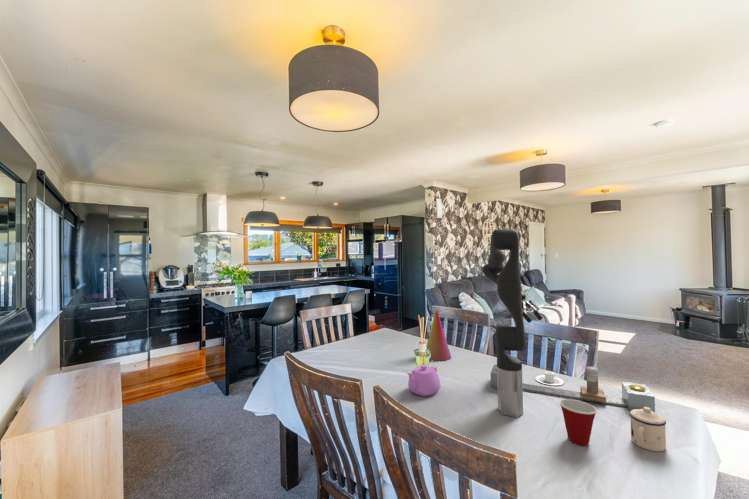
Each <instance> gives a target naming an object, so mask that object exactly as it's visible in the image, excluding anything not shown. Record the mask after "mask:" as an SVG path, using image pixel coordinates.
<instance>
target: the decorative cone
mask: <svg viewBox="0 0 749 499" xmlns="http://www.w3.org/2000/svg"><path fill="white" fill-rule="evenodd" d="M442 324H443V323H442V321H441V318H440V314H439V311H438V308H437V306H436V307H435V311H434V315H433V319H432V323H431V327H430V331H429V335H428V340H427V344H426V347H427V349H429V350H430V351H431V357H430V360H433V361H432V362H439V361H440V362H447V360H448V361H450V360H452V355H451V351H450V349H449V344H448V342H447V338H446V336H445V331H444V328H443V325H442ZM430 360H429V361H430Z"/></svg>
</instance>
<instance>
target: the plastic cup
mask: <svg viewBox="0 0 749 499" xmlns="http://www.w3.org/2000/svg"><path fill="white" fill-rule="evenodd" d="M558 402H559V405H560V407H561V411H562V416H563V421H564V425H565V430H566V435H567V438H568V441H569V442H570V443H572V444H574V445H577V446H580V447H586V446H588V445H589V443H590V439H591V435H592V431H593V430H592V429H593V425H594V420H595V416H596V414H597V413H598V408H597V407H595V406H593V404H590V403H587V402H585V401H583V400H578V399H571V398H565V399H564V398H562V399H560V400H558Z"/></svg>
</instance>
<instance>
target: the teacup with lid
mask: <svg viewBox="0 0 749 499" xmlns="http://www.w3.org/2000/svg"><path fill="white" fill-rule="evenodd" d="M629 416H630V439H631V441H632V442H633V443H634V445H636V446H638V447H640V448H642V449H644V450H646V451H651V452H664V451H666V450H667V448H666V447H667V446H666V443H667V442H666V441H667V438H666V424H667V421H666V419H665V418H664V416H662V415H660V414H658V413H656V412H655V413H654V412H653V411H651V409H650V408H649V407H643V409H634V410H632V411H629Z"/></svg>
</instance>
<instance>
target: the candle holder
mask: <svg viewBox="0 0 749 499" xmlns="http://www.w3.org/2000/svg"><path fill="white" fill-rule="evenodd" d="M541 377H543V378H544V381H545V382H543V381H541V380H540V379H541ZM534 378H535V381H537V382H539V383H541V384H543V385H548V386H562V385H563V384H564V381H563V379H561V378H560V377H556V376H555V372H553V371H550V370H549V371H545V372H544V374H542V375H537V376H536V377H534ZM556 380H557V381H558V382H559V383H556V382H555V381H556Z"/></svg>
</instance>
